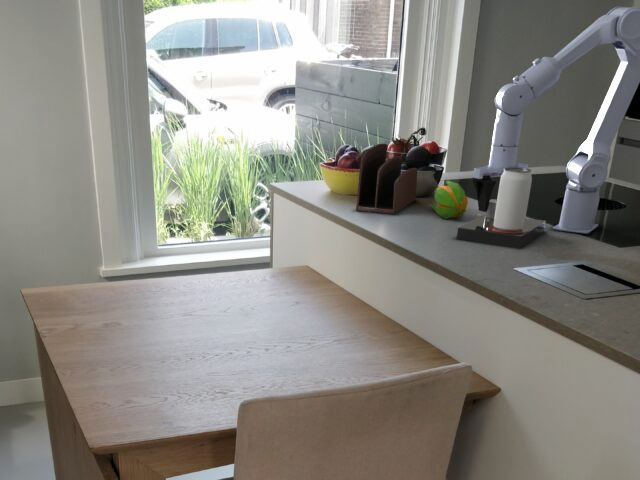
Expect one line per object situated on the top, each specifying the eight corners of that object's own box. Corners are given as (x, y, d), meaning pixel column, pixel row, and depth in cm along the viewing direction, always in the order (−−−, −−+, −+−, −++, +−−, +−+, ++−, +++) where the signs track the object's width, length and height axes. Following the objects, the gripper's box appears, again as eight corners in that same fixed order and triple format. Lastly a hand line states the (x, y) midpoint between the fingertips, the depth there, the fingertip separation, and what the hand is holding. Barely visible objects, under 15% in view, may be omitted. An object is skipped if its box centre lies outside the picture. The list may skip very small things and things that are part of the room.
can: (520, 225, 183) (530, 167, 177) (525, 232, 178) (536, 172, 171) (490, 224, 184) (499, 166, 177) (495, 231, 178) (504, 171, 172)
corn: (445, 188, 192) (426, 172, 209) (438, 222, 196) (421, 204, 213) (476, 190, 193) (455, 175, 210) (469, 224, 197) (449, 206, 214)
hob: (481, 222, 197) (483, 211, 195) (544, 231, 190) (547, 219, 188) (451, 238, 183) (453, 226, 182) (518, 248, 176) (520, 235, 175)
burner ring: (494, 222, 186) (494, 221, 186) (534, 227, 182) (534, 227, 182) (480, 230, 180) (480, 229, 179) (521, 236, 175) (521, 235, 175)
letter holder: (355, 211, 206) (359, 150, 199) (379, 196, 222) (384, 139, 214) (394, 215, 203) (399, 153, 195) (416, 200, 218) (422, 142, 211)
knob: (481, 216, 191) (483, 199, 189) (492, 214, 193) (494, 197, 191) (495, 219, 188) (498, 202, 186) (506, 217, 190) (509, 200, 188)
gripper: (493, 149, 176) (483, 216, 183) (542, 145, 183) (531, 209, 190) (470, 145, 181) (462, 210, 189) (518, 141, 188) (508, 203, 195)
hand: (495, 209), depth 190 cm, fingers open, 7 cm apart
